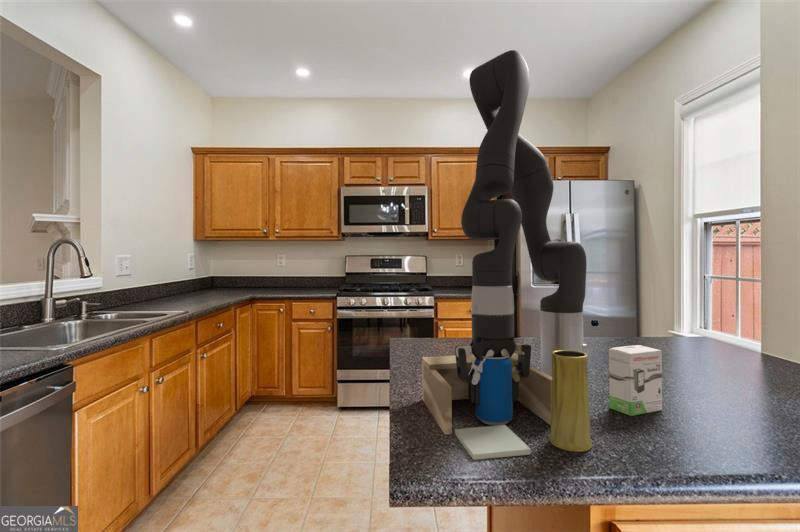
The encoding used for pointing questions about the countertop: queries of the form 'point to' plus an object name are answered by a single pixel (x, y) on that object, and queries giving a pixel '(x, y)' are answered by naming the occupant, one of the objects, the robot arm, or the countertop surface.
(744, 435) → the countertop surface
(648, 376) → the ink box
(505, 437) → the tile
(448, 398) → the cubby
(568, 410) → the vase
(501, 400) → the beverage can
